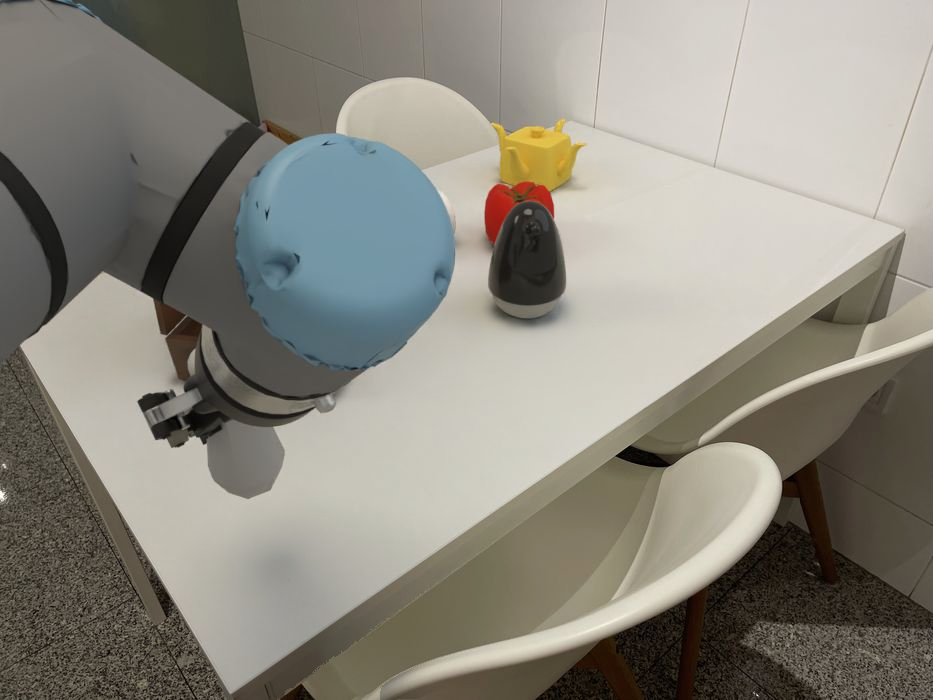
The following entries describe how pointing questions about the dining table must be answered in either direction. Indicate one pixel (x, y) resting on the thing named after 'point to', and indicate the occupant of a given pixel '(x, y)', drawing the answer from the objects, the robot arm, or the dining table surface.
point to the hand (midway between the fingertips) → (222, 418)
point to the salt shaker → (243, 455)
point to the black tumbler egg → (527, 262)
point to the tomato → (511, 203)
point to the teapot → (536, 155)
